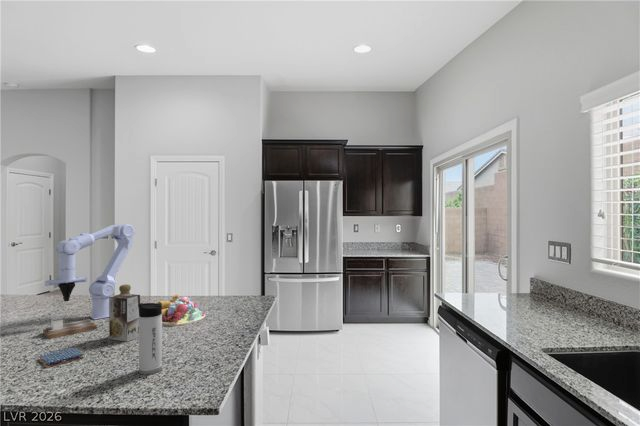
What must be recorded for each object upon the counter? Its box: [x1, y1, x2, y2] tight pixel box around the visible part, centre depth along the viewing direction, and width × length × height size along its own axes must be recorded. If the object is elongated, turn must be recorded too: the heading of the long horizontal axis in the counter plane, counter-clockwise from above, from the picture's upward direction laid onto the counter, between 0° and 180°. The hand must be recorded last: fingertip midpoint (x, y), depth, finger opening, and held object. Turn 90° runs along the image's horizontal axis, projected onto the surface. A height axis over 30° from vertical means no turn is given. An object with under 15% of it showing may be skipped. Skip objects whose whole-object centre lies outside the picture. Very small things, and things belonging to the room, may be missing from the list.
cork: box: [118, 284, 132, 294], centre depth 182 cm, size 6×6×11 cm
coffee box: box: [108, 293, 141, 342], centre depth 135 cm, size 9×6×16 cm
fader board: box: [42, 318, 98, 340], centre depth 143 cm, size 16×10×2 cm, turn 137°
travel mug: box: [138, 302, 163, 375], centre depth 107 cm, size 6×7×20 cm
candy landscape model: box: [156, 294, 206, 327], centre depth 163 cm, size 25×24×9 cm
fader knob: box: [50, 316, 64, 330], centre depth 140 cm, size 3×4×4 cm
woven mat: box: [38, 347, 85, 368], centre depth 115 cm, size 10×11×2 cm
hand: (66, 300), depth 150 cm, fingers closed
